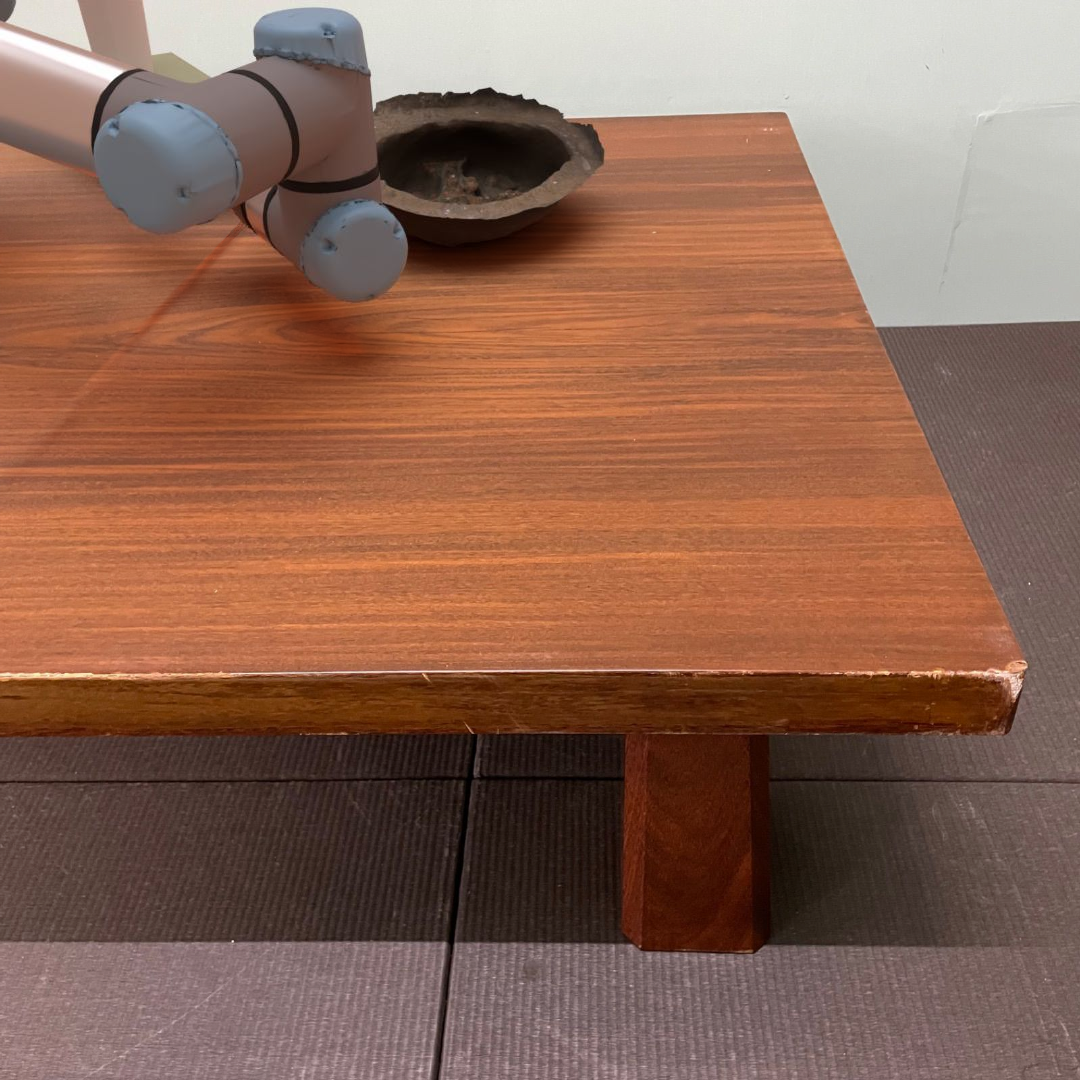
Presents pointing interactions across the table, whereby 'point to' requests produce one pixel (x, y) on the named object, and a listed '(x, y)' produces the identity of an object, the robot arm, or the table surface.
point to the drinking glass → (118, 30)
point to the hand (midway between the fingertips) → (201, 134)
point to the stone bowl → (477, 162)
